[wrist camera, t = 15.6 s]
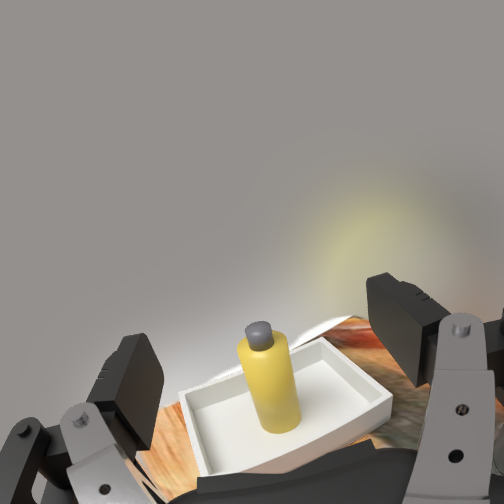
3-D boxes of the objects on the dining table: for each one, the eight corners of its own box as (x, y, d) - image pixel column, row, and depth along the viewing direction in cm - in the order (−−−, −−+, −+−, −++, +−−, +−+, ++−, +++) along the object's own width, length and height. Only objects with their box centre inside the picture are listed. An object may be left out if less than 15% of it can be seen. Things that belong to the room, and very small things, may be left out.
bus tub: (324, 359, 45) (322, 336, 44) (390, 419, 30) (392, 395, 29) (188, 413, 39) (177, 392, 38) (217, 501, 24) (203, 483, 23)
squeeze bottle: (290, 398, 37) (271, 309, 33) (308, 422, 33) (292, 329, 29) (254, 413, 36) (226, 326, 32) (269, 440, 31) (241, 349, 27)
